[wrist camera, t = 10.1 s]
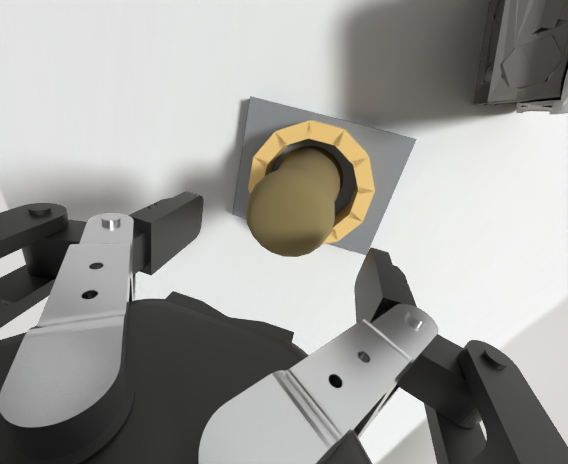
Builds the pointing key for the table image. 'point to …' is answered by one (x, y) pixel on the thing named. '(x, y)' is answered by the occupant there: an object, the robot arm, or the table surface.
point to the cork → (296, 202)
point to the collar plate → (346, 149)
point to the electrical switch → (525, 56)
